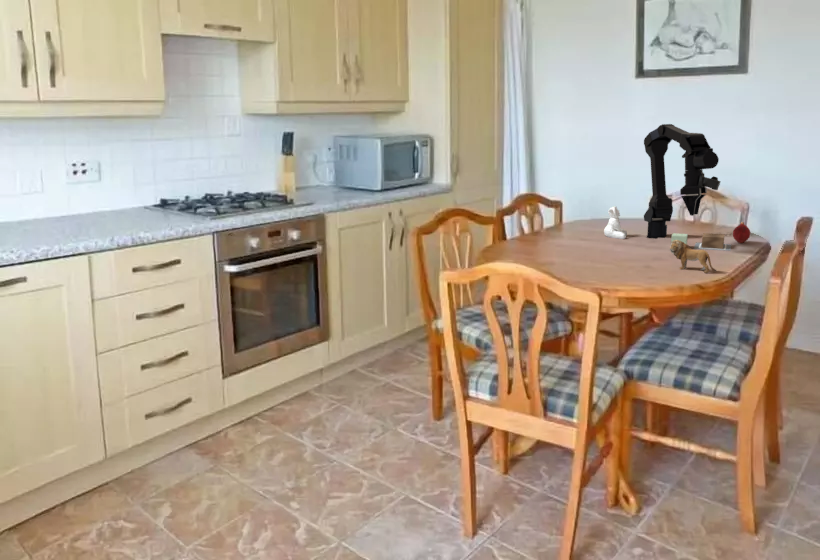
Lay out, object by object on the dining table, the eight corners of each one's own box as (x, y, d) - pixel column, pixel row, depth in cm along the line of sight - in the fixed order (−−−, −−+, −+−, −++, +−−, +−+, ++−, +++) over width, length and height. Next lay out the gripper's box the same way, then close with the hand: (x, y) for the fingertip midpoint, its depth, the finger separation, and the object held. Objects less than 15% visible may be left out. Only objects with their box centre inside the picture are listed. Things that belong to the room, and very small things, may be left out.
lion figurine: (665, 268, 229) (667, 240, 227) (672, 265, 233) (673, 238, 231) (713, 274, 220) (715, 245, 217) (719, 271, 224) (721, 242, 221)
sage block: (670, 249, 257) (671, 235, 256) (672, 246, 261) (672, 233, 260) (685, 250, 255) (686, 236, 254) (686, 247, 259) (687, 234, 258)
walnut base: (701, 247, 256) (702, 236, 255) (702, 244, 262) (703, 233, 261) (722, 248, 253) (723, 237, 252) (723, 245, 259) (724, 234, 258)
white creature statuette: (625, 239, 277) (626, 208, 274) (602, 238, 279) (603, 207, 277) (627, 235, 285) (628, 204, 282) (604, 234, 288) (605, 204, 285)
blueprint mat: (693, 249, 255) (693, 248, 255) (695, 243, 266) (695, 242, 265) (730, 251, 250) (730, 250, 250) (731, 245, 261) (731, 244, 260)
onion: (751, 245, 259) (753, 223, 258) (734, 245, 261) (735, 223, 259) (747, 242, 265) (749, 220, 263) (730, 242, 266) (732, 220, 264)
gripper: (715, 168, 239) (715, 215, 241) (721, 169, 256) (722, 213, 257) (679, 170, 245) (680, 216, 247) (688, 171, 261) (689, 214, 263)
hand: (694, 214), depth 253 cm, fingers open, 9 cm apart
